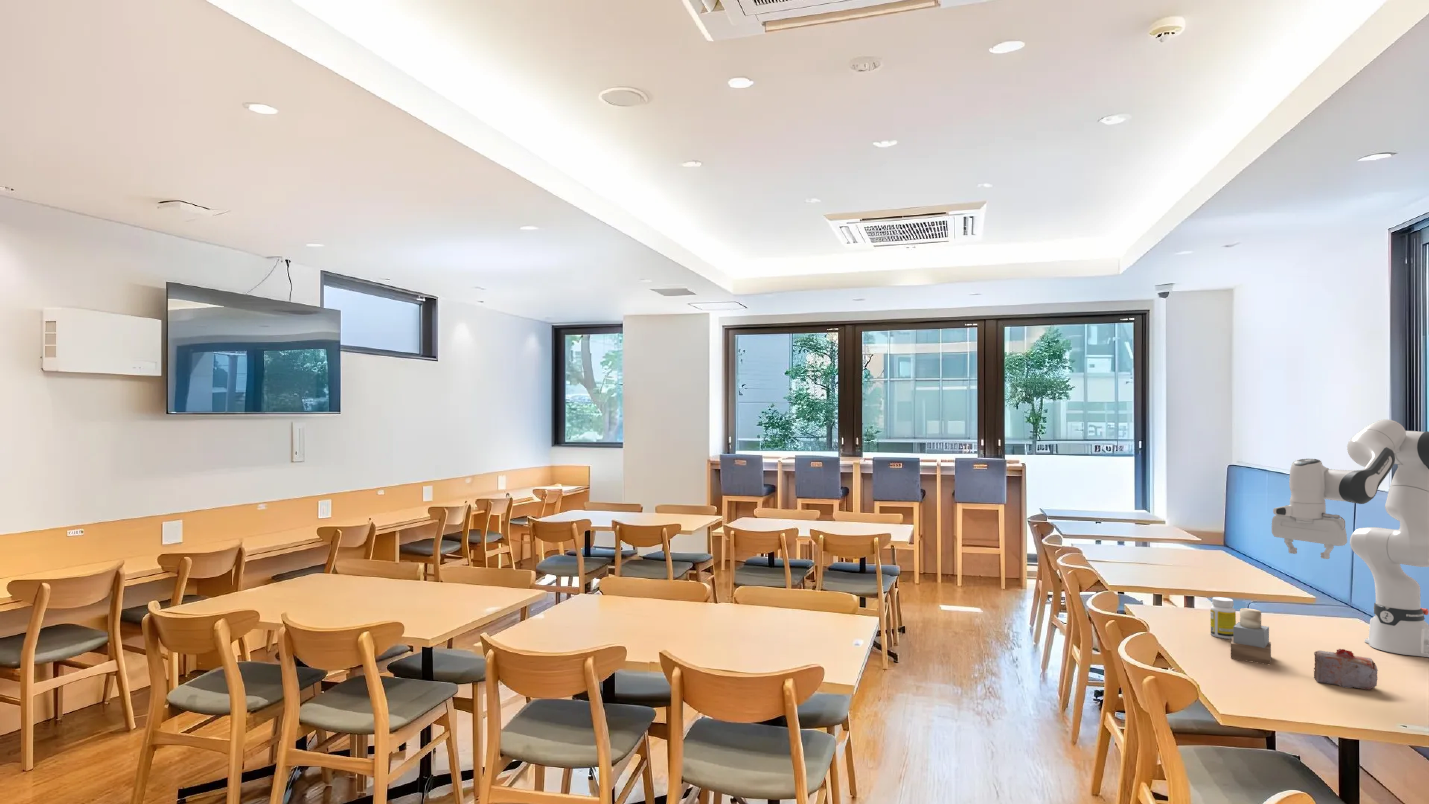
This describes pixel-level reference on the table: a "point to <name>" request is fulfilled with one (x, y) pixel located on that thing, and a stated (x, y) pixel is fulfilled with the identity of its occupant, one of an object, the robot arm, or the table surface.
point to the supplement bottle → (1222, 617)
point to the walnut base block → (1251, 653)
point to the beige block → (1250, 618)
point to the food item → (1345, 669)
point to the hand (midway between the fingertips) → (1308, 556)
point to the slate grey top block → (1251, 636)
